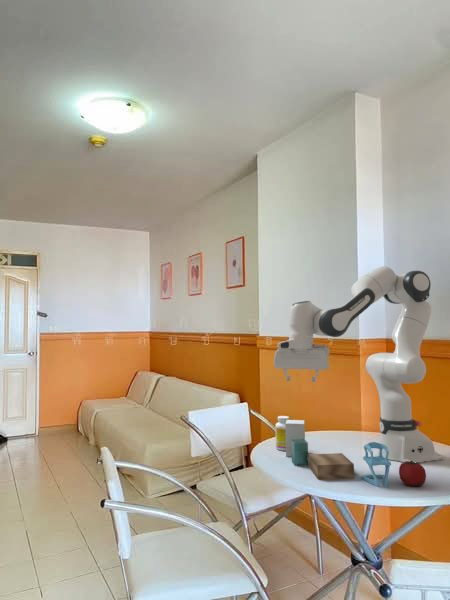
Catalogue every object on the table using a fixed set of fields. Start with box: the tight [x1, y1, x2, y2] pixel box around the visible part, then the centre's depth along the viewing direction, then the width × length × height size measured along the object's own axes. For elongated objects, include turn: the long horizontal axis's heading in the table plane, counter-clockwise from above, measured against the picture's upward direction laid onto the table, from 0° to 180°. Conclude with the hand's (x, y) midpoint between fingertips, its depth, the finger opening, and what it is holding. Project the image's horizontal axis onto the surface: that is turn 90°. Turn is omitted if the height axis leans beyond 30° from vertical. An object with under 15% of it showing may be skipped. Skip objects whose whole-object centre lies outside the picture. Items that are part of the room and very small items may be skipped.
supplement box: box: [285, 419, 306, 458], centre depth 167 cm, size 7×7×13 cm
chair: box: [360, 441, 392, 488], centre depth 137 cm, size 8×8×12 cm
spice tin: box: [290, 438, 309, 467], centre depth 156 cm, size 5×5×8 cm
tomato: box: [398, 461, 427, 487], centre depth 134 cm, size 8×8×7 cm
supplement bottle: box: [274, 415, 290, 452], centre depth 175 cm, size 7×7×13 cm
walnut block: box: [308, 452, 355, 481], centre depth 146 cm, size 12×12×5 cm
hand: (301, 381), depth 160 cm, fingers open, 8 cm apart
